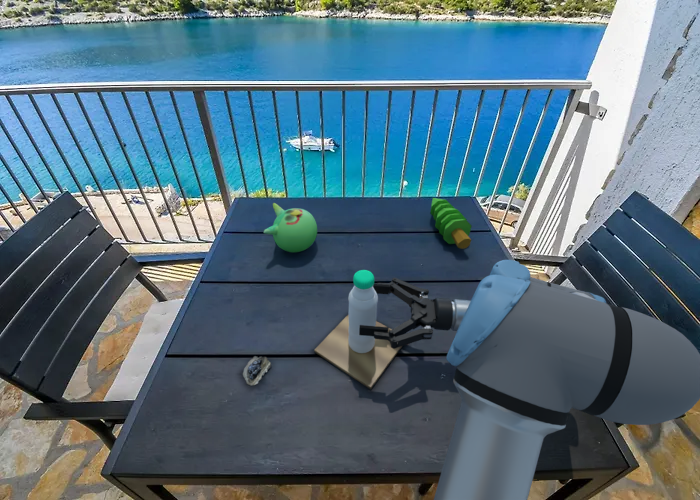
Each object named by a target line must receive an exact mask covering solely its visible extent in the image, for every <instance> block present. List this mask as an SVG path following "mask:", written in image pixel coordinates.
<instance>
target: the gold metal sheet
mask: <svg viewBox="0 0 700 500" xmlns="http://www.w3.org/2000/svg"><path fill="white" fill-rule="evenodd" d="M375 326H378V327H387V325H384V324H383V323H381V322H379V321H377V320H376V325H375ZM389 329H390V330H392V329H393V328H390V327H389ZM388 332H389V330H388ZM348 339H349V316H348V314H347V315H346V316H345V317H344V318H343V319H342V320H341V321H340V322H339V323H338V324H337V325H336V326H335V327H334V329H333V330H331V331H330V333H328V335H327V336H325V338H324V339H323V340H322V341H321V342H320V343H319V344H318V345H317V346H316V348H314V350H313V352H314V353H315V354H317V355H318V356H320V357H321V358H323V359H324V360H326V361H327V362H329V363H330V364H331V365H333V366H335V367H336V368H338V369H339V370H341V371H342V372H343V373H345V374H347V375H348V376H350V377H351V378H352V379H354V380H356V381H357V382H359V383H360V384H362V385H363V386H365V387H367V389H369V390H372V389H373V387H374V386H375V384H377V382H378V380H379V379H380V377H381V376H382V375H383V373H384V372H385V371H386V369H387V368H388V367H389V366H390V364H391V363H392V361H393V360H394V358H395V357H396V356H397V354H398V353H399V351H400V350H401V349H402V347H403V346H401V347H398V348H395V349H393V348H391V344H390V342H389V341H388V340H381V339H375V344H374V347H373V348H372V350H370V351H369V352H367V353H357V352H355V351H353V350H352V349H351V348H350V346H349V342H348Z"/></svg>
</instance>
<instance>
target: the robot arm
mask: <svg viewBox="0 0 700 500" xmlns="http://www.w3.org/2000/svg"><path fill="white" fill-rule="evenodd" d="M373 288H374V290H375V291H376V293H377V295H378V294H380V295H390V294H392V295H394V296H395V297H397V298H398V299H399V300H401V301H402V302H404V303H405V304H407V305H408V307H409V308H410V318H409V319H408V320H406V321H404V322H402V323H401V324H399V325H397V326H395V327H394V328H390V327H389V326H386V327H378V326H366V325H360V327H359V335H363V336H374V338H375V339H381V340H388V341H389V342H390V344H391V348H393V349H395V348H398V347H401V346H402V347H403V346H406V345H410V344H412V343H413V344H414V343H416V342H419V341H421V340H423V341H425V340H431V339H432V337H433V333H434V330H437V331H450V330H451V331H452V332H456V333H455V335H454V338H453V340H452V342H451V345H450V347H449V349H448V351H447V354H446V361H447V363H450V364H451V366H454V367H456V369H455V372H454V376H453V378H452V379H453V380H452V382H453V384H454V386H455V388H456V390H457V392H458V394H459V396H460V398H461V401H460V405H459V408H458V412H457V416H456V420H455V423H454V427H453V430H452V434H451V437H450V441H449V444H448V448H447V451H446V454H445V459H444V461H443V465H442V469H441V473H440V476H439V479H438V483H437V487H436V490H435V493H434V496H433V500H528V499H529V495H530V491H531V488H532V484H533V481H534V477H535V472H536V468H537V465H538V460H539V457H540V453H541V449H542V446H543V442H544V439H545V437H546V436H547V435H550V434H553V433H555V432H558V431H561V430H564V429H565V428H566V426H567V422H568V419H569V415H570V411H571V409H573V410H576V411H580V412H583V413H585V414H587V415H591V416H593V417H597V418H600V419H603V420H606V421H608V422H613V423H617V424H621V425H622V424H623V425H633V426H648V425H657V424H662V423H666V422H670V421H672V420H675V419H677V418H679V417H681V416H683V415H684V414H687V412H690V411H691V410H692V409H693V408H694V407H695V405H696V404H697V403H698V402H699V401H700V352H699V350H698V349H697V347H696V346H695V345H694V344H693V343H692V342H691V340H690V339H689V338H687V337H686V336H685V335H684V334H683V333H682V332H680V331H679V330H677V329H676V328H674V327H672V326H670V325H668V324H667V323H666V322H664V321H661V320H659V319H657V318H655V317H652V316H650V315H648V314H645V313H642V312H640V311H636V310H633V309H630V308H626V307H623V306H618V305H614V304H610V303H607V301H606V299H605V298H604V297H603V296H601V295H598V294H594V293H592V292H589V291H585V290H579V289H577V288H572V287H568V286H564V285H560V284H556V283H553V282H549V281H546V280H544V279H539V278H536V277H532V276H531V271H530V269H529V268H528V267H527V266H526V265H525V264H521V263H520V262H519V261H516V260H513V259H503V260H499V261H497V262H496V263H495V264H494V265H493V267H492V269H491V270H490V273H489V275H487V276H485V277H484V278H482V279H481V280H480V281H479V283H478V285H477V287H476V289H475V291H474V293H473V295H472V297H471V299H458V298H452V299H450V298H448V297H447V298H445V297H435V298H433V299H430V298H429V295H430V290H429V289H428V288H422V287H419V286H417V285H414V284H412V283H409V282H407V281H404V280H402V279H399V278H397V277H393V278H392V279H391V282H377V283H374V285H373ZM419 327H422V328H419ZM389 328H390V329H392V330H390V329H389ZM417 328H419V329H417ZM388 330H389V332H388ZM412 330H413V331H412ZM402 347H401V348H402Z"/></svg>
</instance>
